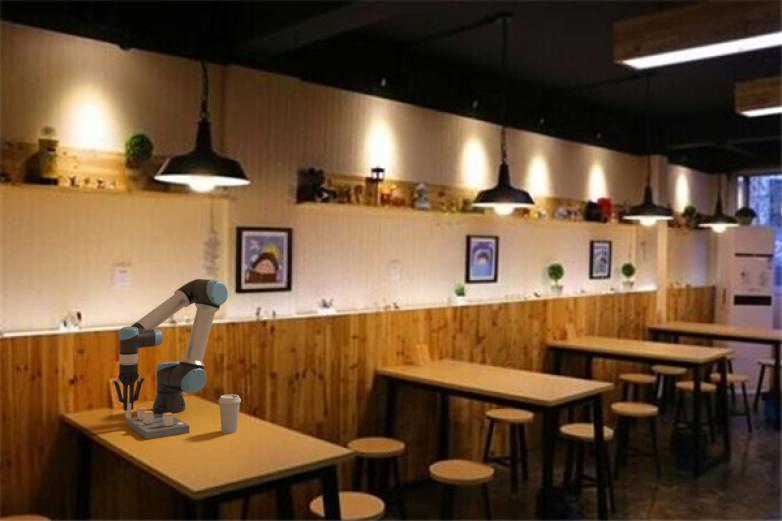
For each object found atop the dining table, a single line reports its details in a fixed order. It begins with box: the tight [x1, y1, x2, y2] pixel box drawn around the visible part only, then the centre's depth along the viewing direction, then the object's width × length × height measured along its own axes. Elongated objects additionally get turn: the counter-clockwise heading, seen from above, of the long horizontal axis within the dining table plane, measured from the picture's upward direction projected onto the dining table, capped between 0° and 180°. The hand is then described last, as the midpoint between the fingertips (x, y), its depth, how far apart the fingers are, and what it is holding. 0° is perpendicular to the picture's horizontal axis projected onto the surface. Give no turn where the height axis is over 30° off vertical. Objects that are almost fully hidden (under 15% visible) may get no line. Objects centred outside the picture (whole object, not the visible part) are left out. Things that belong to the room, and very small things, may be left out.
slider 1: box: [136, 406, 148, 420], centre depth 301 cm, size 3×4×5 cm
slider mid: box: [143, 409, 155, 424], centre depth 294 cm, size 3×4×5 cm
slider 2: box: [162, 413, 174, 426], centre depth 292 cm, size 3×4×5 cm
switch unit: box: [126, 413, 190, 440], centre depth 297 cm, size 18×26×3 cm
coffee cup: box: [217, 393, 242, 434], centre depth 296 cm, size 10×10×15 cm
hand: (128, 417), depth 297 cm, fingers closed
